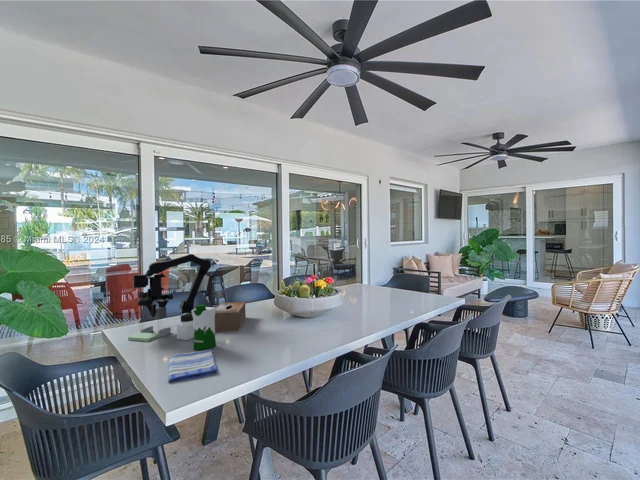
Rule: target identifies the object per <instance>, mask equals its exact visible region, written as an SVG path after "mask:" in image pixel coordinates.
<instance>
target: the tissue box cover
mask: <svg viewBox="0 0 640 480" xmlns="http://www.w3.org/2000/svg"><path fill="white" fill-rule="evenodd" d="M215 308H216V311H215V332H227V331H228V332H230V331H240V329H241V327H242V325H243V324H244V322H245V319H246V316H247V315H246V302H245V301H240V302H239V301H238V302H221V303H219V304H218V305H217V307H215Z"/></svg>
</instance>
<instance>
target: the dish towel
mask: <svg viewBox="0 0 640 480" xmlns="http://www.w3.org/2000/svg"><path fill="white" fill-rule="evenodd" d="M217 372H218V369H217V364H216V362H215V358H214V351H213V350H212V349H209V350H205V351H199V350H198V351H192V352H189V353H177V354H173V355H171V356H170V357H169V361H168V373H167V375H168V380H167V383H176V382H180V381H181V382H182V381H188V380H194V379H199V378H203V377H204V378H205V377H210V376H215V374H216V375H217Z"/></svg>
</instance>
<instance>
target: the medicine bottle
mask: <svg viewBox="0 0 640 480" xmlns="http://www.w3.org/2000/svg"><path fill="white" fill-rule="evenodd" d="M176 337H177V340H182V341H189V340H193V339H194V327H193V316H192V313H185V314H182V313H181V315H180V323H178V324H177V325H176Z"/></svg>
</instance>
